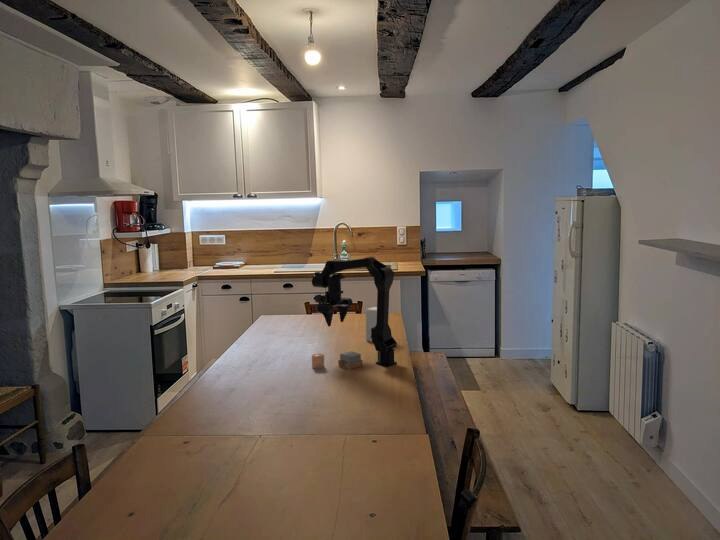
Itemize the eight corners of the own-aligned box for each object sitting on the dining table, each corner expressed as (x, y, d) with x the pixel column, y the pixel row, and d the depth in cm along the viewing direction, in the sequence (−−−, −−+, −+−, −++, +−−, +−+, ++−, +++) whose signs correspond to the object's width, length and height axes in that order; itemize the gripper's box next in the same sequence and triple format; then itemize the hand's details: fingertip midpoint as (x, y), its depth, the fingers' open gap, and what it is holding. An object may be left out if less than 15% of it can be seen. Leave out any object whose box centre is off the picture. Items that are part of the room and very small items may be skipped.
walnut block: (362, 367, 221) (362, 360, 220) (349, 371, 216) (349, 363, 216) (351, 363, 226) (351, 356, 225) (338, 367, 221) (338, 360, 221)
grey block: (360, 360, 220) (360, 354, 220) (349, 363, 216) (348, 357, 216) (351, 356, 225) (351, 351, 224) (340, 359, 221) (340, 353, 221)
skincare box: (376, 343, 254) (375, 310, 252) (364, 341, 258) (364, 309, 256) (386, 339, 261) (385, 307, 259) (375, 337, 265) (374, 306, 263)
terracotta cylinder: (326, 367, 220) (326, 355, 219) (317, 370, 216) (316, 358, 216) (319, 364, 223) (319, 352, 223) (309, 367, 220) (309, 355, 219)
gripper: (332, 284, 245) (333, 318, 247) (306, 290, 230) (307, 326, 232) (352, 286, 239) (353, 320, 241) (326, 292, 224) (328, 329, 226)
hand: (335, 324), depth 235 cm, fingers open, 9 cm apart
